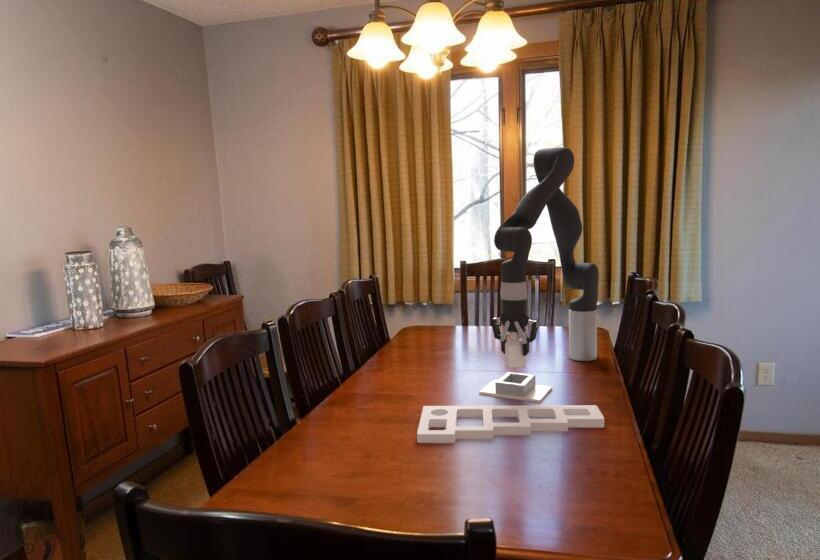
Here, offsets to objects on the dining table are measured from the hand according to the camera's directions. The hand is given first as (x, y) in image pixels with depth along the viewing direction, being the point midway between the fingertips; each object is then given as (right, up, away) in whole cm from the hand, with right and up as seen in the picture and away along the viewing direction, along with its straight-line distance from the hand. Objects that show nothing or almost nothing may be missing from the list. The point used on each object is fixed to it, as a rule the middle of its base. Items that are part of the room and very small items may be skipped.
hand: (515, 354), depth 159 cm
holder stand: (0, -11, +2) cm, 11 cm away
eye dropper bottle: (0, -4, 0) cm, 4 cm away
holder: (-5, -16, -23) cm, 28 cm away
